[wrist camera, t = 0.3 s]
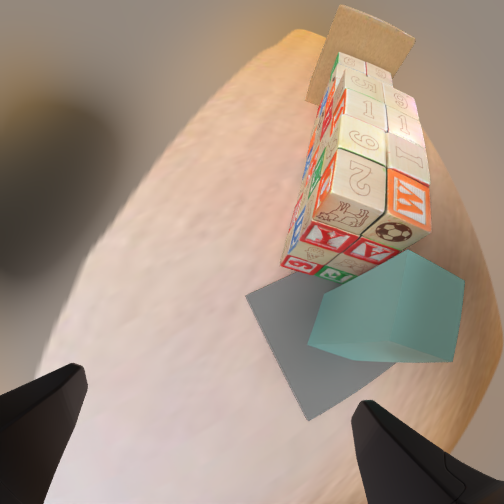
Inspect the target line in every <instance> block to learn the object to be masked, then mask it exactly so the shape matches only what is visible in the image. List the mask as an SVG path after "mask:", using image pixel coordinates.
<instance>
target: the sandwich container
mask: <svg viewBox="0 0 504 504" xmlns="http://www.w3.org/2000/svg"><path fill="white" fill-rule="evenodd" d="M415 42H416V40H415V38H414V37H412V36H411V35H409V34H407V33H405V32H404V31H402V30H400V29H398V28H396V27H394V26H393V25H391V24H389V23H387V22H384V21H383V20H381V19H379V18H376V17H374V16H371V15H369V14H366V13H364V12H361V11H358V10H356V9H353V8H350V7H347V6H345V5H340V6H339V7H338V10H337V12H336V15H335V17H334V20H333V23H332V25H331V28H330V30H329V33H328V36H327V38H326V41H325V44H324V46H323V49H322V52H321V54H320V57H319V59H318V62H317V65H316V67H315V70H314V73H313V75H312V78H311V81H310V85H309V89H308V92H307V96H306V100H305V101H307V102H310V103H313V104H315V105H318V106H319V105H320V102H321V100H322V98H323V95H324V91H325V89H326V86H327V83H328V81H329V78H330V76H331V70H332V68H333V65H334V62H335V60H336V57H337V55H338V52H341V53H344V54H347V55H349V56H352V57H355V58H357V59H360V60H362V61H364V62H368V63H370V64H373V65H375V66H377V67H379V68H381V69H384V70H386V71H388V72H390V73H391V77H392V79H393V77H394V75H395V74H396V73H397V71H398V69H399V67H400V66H401V65H402V63H403V61H404V60H405V58H406V57H407V55H408V53H409V52H410V50H411V48H412V47H413V45H414V44H415Z"/></svg>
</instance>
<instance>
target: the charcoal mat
mask: <svg viewBox="0 0 504 504" xmlns="http://www.w3.org/2000/svg"><path fill="white" fill-rule="evenodd" d="M372 269H373V268H372ZM369 271H370V270H369ZM367 272H368V271H367ZM365 273H366V272H365ZM341 285H343V284H339V283H336V282H333V281H330V280H327V279H323V278H320V277H317V276H315V275H309V274H305V273H302V272H296V273H293V274H291V275H289V276H287V277H285V278H283V279H281V280H278V281H276V282H274V283H272V284H270V285H268V286H266V287H263V288H261V289H259V290H257V291H255V292H252V293H250V294H248V295H246V296H245V297H246V299H247V301H248V303H249V305H250V307H251V309H252V311H253V313H254V315H255V317H256V319H257V322H258V324H259V326H260V328H261V330H262V332H263V334H264V336H265V338H266V340H267V342H268V344H269V346H270V348H271V350H272V352H273V354H274V356H275V358H276V360H277V362H278V364H279V366H280V368H281V370H282V372H283V374H284V376H285V378H286V380H287V382H288V384H289V386H290V388H291V390H292V392H293V394H294V396H295V398H296V400H297V402H298V403H299V405H300V407H301V409H302V411H303V413H304V415H305V417H306V419H307V420H308V421H310V420H311V419H313V418H315V417H317V416H318V415H320V414H322V413H324V412H325V411H327V410H329V409H330V408H332V407H333V406H335V405H337V404H338V403H340V402H341V401H343V400H345V399H346V398H348V397H349V396H351V395H352V394H354V393H355V392H357V391H358V390H360V389H361V388H363V387H364V386H365V385H367V384H368V383H370V382H371V381H372V380H374V379H375V378H377V377H378V376H379V375H381V374H382V373H383V372H385V371H386V370H387V369H389V368H390V367H391V366H393V365H394V364H395V363H396V362H374V361H356V360H351V359H348V358H345V357H342V356H339V355H336V354H332V353H330V352H327V351H324V350H321V349H318V348H315V347H312V346H309V345H307V344H308V341H309V338H310V335H311V332H312V329H313V326H314V323H315V320H316V318H317V314H318V311H319V308H320V305H321V302H322V299H323V296H324V294H325V293H327V292H329V291H331V290H333V289H335V288H337V287H339V286H341Z"/></svg>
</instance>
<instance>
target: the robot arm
mask: <svg viewBox="0 0 504 504" xmlns="http://www.w3.org/2000/svg"><path fill="white" fill-rule="evenodd" d="M87 389H88V384H87V379H86V375H85V370H84V368H83V366H81V365H78V364H75V363H70V364H68V365H66V366H64V367H61V368H59V369H57V370H55V371H53V372H51V373H49V374H46V375H44V376H42V377H40V378H38V379H36V380H33V381H31V382H29V383H27V384H25V385H22V386H20V387H18V388H16V389H14V390H11V391H9V392H7V393H5V394H2V395H0V504H43V503H44V500H45V498H46V495H47V492H48V489H49V487H50V484H51V482H52V479H53V477H54V474H55V472H56V469H57V467H58V464H59V462H60V459H61V457H62V455H63V452H64V450H65V448H66V446H67V443H68V441H69V439H70V437H71V434H72V432H73V430H74V428H75V425H76V422H77V419H78V416H79V413H80V410H81V407H82V404H83V401H84V398H85V395H86V393H87ZM351 424H352V430H353V437H354V444H355V451H356V457H357V462H358V466H359V470H360V474H361V477H362V481H363V485H364V489H365V493H366V497H367V501H368V504H504V481H500V480H496V479H494V478H492V477H490V476H487V475H485V474H483V473H481V472H479V471H477V470H475V469H473V468H471V467H470V466H468V465H466V464H464V463H462V462H460V461H459V460H457V459H456V458H454V457H453V456H451V455H450V454H448V453H447V452H444V451H443V450H442V449H441V448H439V447H438V446H436V445H435V444H433V443H432V442H430V441H429V440H427V439H426V438H425V437H423V436H422V435H420V434H419V433H417V432H416V431H415V430H413V429H412V428H410V427H409V426H408V425H406V424H405V423H403V422H402V421H401V420H399V419H398V418H396V417H395V416H394V415H392V414H391V413H390V412H388V411H387V410H386V409H384V408H383V407H381V406H380V405H379V404H377V403H376V402H375V401H373V400H363V401H361V402H360V403H359V405H358V407H357V409H356V410H355V412H354V414H353V416H352V420H351Z"/></svg>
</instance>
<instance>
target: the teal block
mask: <svg viewBox="0 0 504 504" xmlns="http://www.w3.org/2000/svg"><path fill="white" fill-rule="evenodd" d="M464 286H465V281H464V280H463V279H461V278H459V277H457V276H456V275H454V274H452V273H450V272H449V271H447V270H445V269H443V268H442V267H440V266H438V265H436V264H434V263H432V262H431V261H429V260H427V259H425V258H423V257H421V256H420V255H418V254H416V253H414V252H412V251H410V250H408V249H407V250H406V251H404V252H402V253H400V254H399V255H397V256H395V257H393V258H391V259H390V260H388V261H386V262H384V263H382V264H381V265H379V266H377V267H375V268H373V269H371V270H370V271H368V272H366V273H364V274H362V275H360V276H358V277H356V278H354V279H353V280H351V281H349V282H347V283H345V284H343V285H341V286H339V287H337V288H335V289H333V290H331V291H329V292H327V293H325V294H324V296H323V299H322V302H321V305H320V308H319V311H318V314H317V318H316V320H315V323H314V326H313V329H312V332H311V335H310V338H309V341H308V344H307V345H309V346H312V347H315V348H318V349H321V350H324V351H327V352H330V353H332V354H336V355H339V356H342V357H345V358H348V359H351V360H356V361H374V362H413V363H425V362H453V357H454V353H455V348H456V343H457V337H458V332H459V326H460V319H461V312H462V305H463V296H464Z"/></svg>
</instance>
